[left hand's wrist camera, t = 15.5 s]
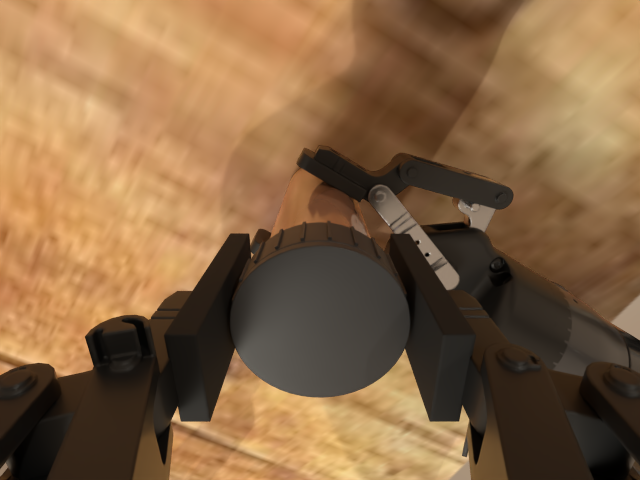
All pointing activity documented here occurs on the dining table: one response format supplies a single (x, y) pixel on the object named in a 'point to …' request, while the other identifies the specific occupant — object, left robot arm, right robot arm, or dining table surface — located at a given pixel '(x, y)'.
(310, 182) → the wooden cylinder
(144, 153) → the dining table surface
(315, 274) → the lid
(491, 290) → the right robot arm
